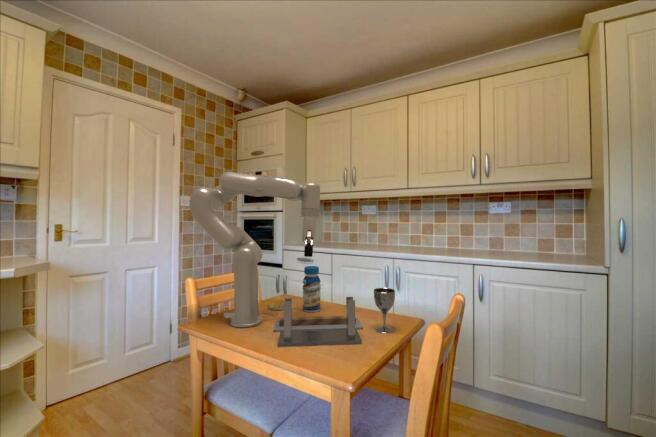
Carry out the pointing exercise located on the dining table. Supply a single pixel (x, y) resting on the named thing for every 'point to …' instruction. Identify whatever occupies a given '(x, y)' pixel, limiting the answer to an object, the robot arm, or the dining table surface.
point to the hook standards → (319, 336)
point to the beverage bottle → (311, 289)
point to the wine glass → (384, 305)
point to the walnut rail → (316, 320)
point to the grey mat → (316, 327)
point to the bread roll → (276, 305)
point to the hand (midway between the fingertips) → (308, 255)
